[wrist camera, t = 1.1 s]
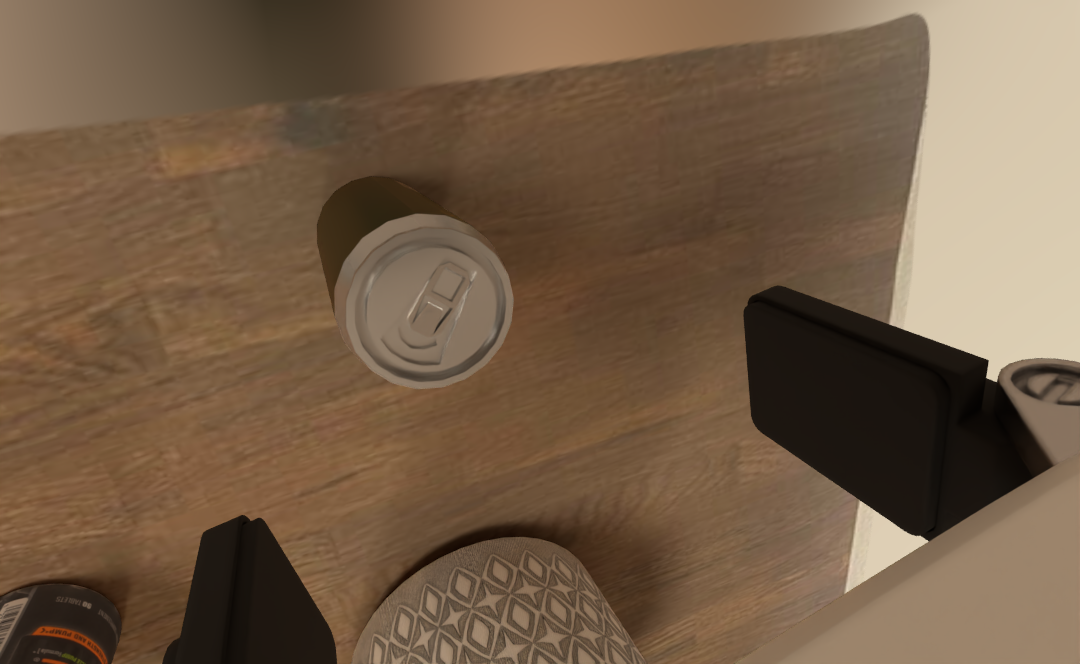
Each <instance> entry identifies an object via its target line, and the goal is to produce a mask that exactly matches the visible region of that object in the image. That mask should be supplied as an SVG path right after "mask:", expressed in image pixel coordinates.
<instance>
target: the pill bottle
mask: <svg viewBox="0 0 1080 664" xmlns="http://www.w3.org/2000/svg"><path fill="white" fill-rule="evenodd" d="M121 630H122V624H121V618H120V615H119V612H118V611H117V609H116V608H115V606H114V604H113V603H112V602H111V601H109V600H108V599H107V598H106V597H104V596H103V595H101V594H99V593H98V592H95V591H93V590H91V589H88V588H85V587H81V586H76V585H69V584H43V585H35V586H30V587H26V588H23V589H19V590H16V591H13V592H11V593H8V594H6V595H4V596H2V597H0V664H112V660H113V657H114V654H115V651H116V648H117V645H118V643H119V639H120V635H121Z"/></svg>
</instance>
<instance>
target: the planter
mask: <svg viewBox="0 0 1080 664" xmlns="http://www.w3.org/2000/svg"><path fill="white" fill-rule="evenodd" d="M351 664H647V662H646V661H645V659H644V658H643V656H642V655H641V653H640V652H639V650H638V649H637V647H636V645H635V644H634V642H633V641H632V639H631V638H630V636H629V635H628V633H627V632H626V630H625V628H624V627H623V625H622V624H621V622H620V621H619V619H618V618H617V616H616V615H615V613H614V612H613V610H612V608H611V607H610V605H609V604H608V602H607V601H606V599H605V598H604V596H603V595H602V593H601V592H600V590H599V588H598V587H597V585H596V584H595V582H594V581H593V579H592V578H591V576H590V575H589V573H588V572H587V570H586V569H585V567H584V566H583V565H582V563H581V562H580V561H579V559H578V558H577V557H575V556H574V555H573V554H572V553H571V552H569V551H568V550H567V549H565V548H563V547H561V546H559V545H557V544H555V543H552V542H549V541H545V540H542V539H537V538H528V537H507V538H498V539H493V540H487V541H482V542H479V543H476V544H473V545H469V546H466V547H463V548H461V549H458V550H456V551H454V552H452V553H449V554H447V555H445V556H443V557H441V558H439V559H437V560H435V561H434V562H432V563H430V564H429V565H427V566H425V567H424V568H422V569H420V570H419V571H418V572H416V573H415V574H414V575H412V576H411V577H410V578H408V579H407V580H406V581H404V582H403V583H402V584H401V585H400V586H399V587H398V588H397V589H396V590H395V591H394V592H393V593H391V594H390V595H389V596H388V597H387V598H386V599H385V601H384V602H383V603H382V604H381V605H380V607H379V608H378V609H377V610H376V612H375V613H374V614H373V615H372V617H371V618H370V620H369V622H368V623H367V625H366V627H365V628H364V630H363V631H362V633H361V635H360V638H359V640H358V643H357V645H356V647H355V650H354V654H353V658H352V662H351Z"/></svg>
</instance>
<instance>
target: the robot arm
mask: <svg viewBox="0 0 1080 664" xmlns="http://www.w3.org/2000/svg"><path fill="white" fill-rule="evenodd" d="M744 328H745V341H746V354H747V367H748V380H749V393H750V407H751V417H752V420H753V423H754V424H755V426H756V427H757V429H758V430H759V431H760V432H762V433H763V434H764V435H766V436H767V437H769V438H770V439H772V440H773V441H775V442H776V443H777V444H779V445H780V446H782V447H783V448H785V449H786V450H788V451H789V452H791V453H792V454H793V455H795V456H796V457H798V458H799V459H801V460H802V461H804V462H805V463H807V464H808V465H809V466H811V467H812V468H814V469H815V470H817V471H818V472H820V473H821V474H823V475H824V476H825V477H827V478H828V479H830V480H831V481H833V482H834V483H836V484H837V485H839V486H840V487H841V488H843V489H844V490H846V491H847V492H849V493H850V494H852V495H853V496H855V497H856V498H858V499H859V500H860V501H862V502H863V503H865V504H866V505H868V506H869V507H871V508H872V509H874V510H875V511H876V512H878V513H879V514H881V515H882V516H884V517H885V518H887V519H888V520H890V521H891V522H893V523H894V524H896V525H897V526H898V527H900V528H901V529H903V530H904V531H906V532H907V533H909V534H911V535H915V536H922V537H923V538H925V539H926V540H928V541H929V542H928V543H926V544H925V545H923V546H921V547H919V548H918V549H916V550H915V551H913V552H912V553H910V554H908V555H907V556H905V557H903V558H902V559H900V560H898V561H897V562H895V563H894V564H892V565H890V566H889V567H887V568H886V569H884V570H882V571H881V572H879V573H878V574H876V575H874V576H873V577H871V578H870V579H868V580H866V581H865V582H863V583H861V584H860V585H858V586H857V587H855V588H853V589H852V590H850V591H849V592H847V593H846V594H844V595H842V596H841V597H839V598H838V599H836V600H834V601H833V602H831V603H830V604H828V605H826V606H825V607H823V608H822V609H820V610H818V611H817V612H815V613H814V614H812V615H810V616H809V617H807V618H806V619H804V620H802V621H801V622H799V623H798V624H796V625H794V626H793V627H791V628H790V629H788V630H786V631H785V632H783V633H782V634H780V635H779V636H777V637H775V638H774V639H772V640H771V641H769V642H767V643H766V644H764V645H763V646H761V647H759V648H758V649H756V650H755V651H753V652H752V653H750V654H748V655H747V656H745V657H744V658H742V659H740V660H739V661H737V662H736V663H734V664H1080V363H1079V362H1075V361H1068V360H1061V359H1049V358H1048V359H1047V358H1036V359H1026V360H1021V361H1017V362H1014V363H1010V364H1008V365H1007V366H1006V367H1004V368H1003V369H1001V371H1000V373H999V376H998V380H997V382H994V381H992V380H989V379H987V378H986V375H987V368H988V360H986V359H984V358H981V357H978V356H975V355H973V354H970V353H967V352H964V351H961V350H959V349H956V348H953V347H950V346H948V345H945V344H942V343H939V342H936V341H934V340H931V339H928V338H925V337H922V336H920V335H917V334H914V333H911V332H909V331H905V330H903V329H900V328H897V327H895V326H892V325H889V324H886V323H883V322H881V321H878V320H875V319H872V318H870V317H867V316H864V315H861V314H858V313H856V312H853V311H850V310H847V309H844V308H842V307H839V306H836V305H833V304H831V303H828V302H825V301H822V300H819V299H817V298H814V297H811V296H808V295H805V294H803V293H800V292H797V291H794V290H792V289H789V288H786V287H783V286H774V287H771V288H769V289H767V290H764V291H762V292H760V293H757V294H755V295H753V296H752V297H750V298H749V301H748V306H746V307H745V309H744ZM162 664H337V658H336V647H335V642H334V638H333V635H332V632H331V630H330V628H329V626H328V624H327V622H326V621H325V619H324V617H323V616H322V614H321V612H320V611H319V609H318V607H317V606H316V604H315V603H314V601H313V599H312V598H311V596H310V594H309V593H308V591H307V590H306V588H305V586H304V585H303V583H302V581H301V580H300V578H299V576H298V575H297V573H296V572H295V570H294V568H293V567H292V565H291V563H290V562H289V560H288V558H287V557H286V555H285V554H284V552H283V550H282V549H281V547H280V545H279V544H278V542H277V540H276V539H275V537H274V536H273V534H272V532H271V531H270V529H269V527H268V526H267V524H266V523H265V521H264V520H263V519H262V518H257V519H255V520H253V521H250V519H249V518H247V517H246V516H244V515H241V516H239V517H237V518H234V519H232V520H230V521H227V522H225V523H223V524H220V525H218V526H216V527H213V528H211V529H209V530H206V531H205V532H204V533H203V535H202V537H201V542H200V547H199V551H198V556H197V561H196V565H195V570H194V575H193V580H192V584H191V589H190V594H189V598H188V603H187V608H186V613H185V617H184V622H183V627H182V631H181V636H180V638H179V639H177V640H174V641H173V642H172V643H171V644H170V645H169V646H168V648H167V651H166V653H165V656H164V659H163V663H162Z"/></svg>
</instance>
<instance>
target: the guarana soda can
mask: <svg viewBox="0 0 1080 664" xmlns="http://www.w3.org/2000/svg"><path fill="white" fill-rule="evenodd" d="M317 244H318V249H319V253H320V257H321V261H322V265H323V270H324V274H325V278H326V282H327V286H328V291H329V295H330V299H331V303H332V308H333V312H334V316H335V319H336V322H337V324H338V327H339V330H340V332H341V335H342V338H343V340H344V343H345V344H346V345H347V346H348V347H349V349H350V350H351V351H352V352H353V353H354V354H355V356H356V357H357V358H358V359H359V360H360V362H361V363H363V364H365V365H366V366H368V367H369V368H370V370H371V371H373V372H375V373H376V374H378V375H380V376H381V377H383V378H385V379H386V380H388V381H390V382H391V383H393V384H397V385H402V386H406V387H411V388H415V389H426V388H440V387H445V386H448V385H451V384H453V383H456V382H459V381H462V380H464V379H467V378H468V377H469V376H471V375H472V374H474V373H475V372H476V371H478V370H479V369H481V368H482V367H484V366H485V365H486V364H487V363H488V362H489V361H490V359H491V358H492V357H493V356H494V354H495V353H496V352H497V351H498V350H499V348H500V347H501V346H502V344H503V342H504V339H505V337H506V334H507V332H508V330H509V327H510V325H511V321H512V311H513V301H514V298H513V293H512V289H511V284H510V279H509V275H508V274H507V272H506V270H505V265H504V263H503V261H502V260H501V258H500V256H499V255H498V253H497V251H496V250H495V248H494V246H493V245H492V243H491V242H490V241H489V240H488V239H486V238H485V237H484V236H483V235H482V234H481V233H479V232H478V231H477V230H476V229H475V228H473V227H472V226H471V225H470V224H468V223H466V222H465V221H463V220H462V219H460V218H459V217H457V216H455V215H454V214H452V213H451V212H449V211H448V210H446V209H444V208H443V207H441V206H440V205H438V204H436V203H435V202H433V201H432V200H430V199H429V198H427V197H425V196H424V195H422V194H421V193H419V192H418V191H416V190H414V189H413V188H411V187H410V186H408V185H406V184H403V183H401V182H399V181H396V180H394V179H391V178H384V177H372V176H370V177H366V178H362V179H358V180H354V181H351V182H349V183H348V184H346V185H344V186H343V187H341V188H340V189H338V190H336V191H335V192H334V193H333V195H332V196H331V197H330V198H329V200H328V201H327V202H326V203H325V205H324V206H323V208H322V211H321V214H320V217H319V220H318V223H317Z"/></svg>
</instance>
